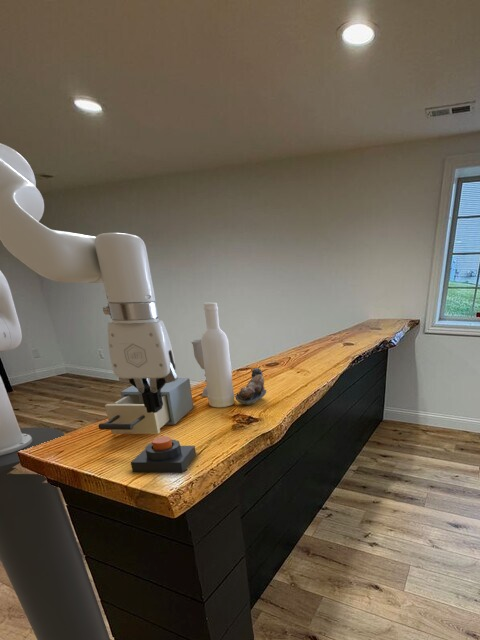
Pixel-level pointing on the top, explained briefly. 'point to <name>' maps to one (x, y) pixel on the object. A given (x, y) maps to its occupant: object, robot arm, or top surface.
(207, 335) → the bottle
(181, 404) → the drawer cabinet
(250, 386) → the brown figurine on dish
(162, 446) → the button
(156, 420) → the cream drawer
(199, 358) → the chalice
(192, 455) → the control block
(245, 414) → the top surface
